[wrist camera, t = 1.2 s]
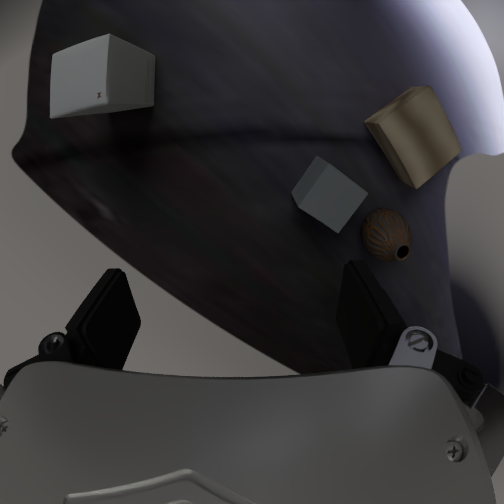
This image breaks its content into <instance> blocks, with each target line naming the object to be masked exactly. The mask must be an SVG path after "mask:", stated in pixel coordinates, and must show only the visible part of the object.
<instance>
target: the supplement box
mask: <svg viewBox="0 0 504 504" xmlns="http://www.w3.org/2000/svg"><path fill="white" fill-rule="evenodd" d="M155 58H156V57H155V56H154V55H152V54H151V53H149V52H147V51H145V50H143V49H141V48H139V47H137V46H135V45H133V44H130V43H128V42H126V41H124V40H122V39H120V38H118V37H115V36H113V35H111V34H107V35H104V36H100V37H97V38H94V39H91V40H88V41H85V42H82V43H80V44H77V45H74V46H72V47H69V48H67V49H64V50H62V51H60V52H57V53H55V54H53V57H52V68H51V86H50V118H61V117H69V116H77V115H87V114H97V113H111V112H118V111H125V110H131V109H137V108H144V107H151V106H154V83H155Z"/></svg>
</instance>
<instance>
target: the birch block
mask: <svg viewBox="0 0 504 504" xmlns="http://www.w3.org/2000/svg"><path fill="white" fill-rule="evenodd" d="M364 123H365V125H366V126H367V128H368V129H369V130H370V132H371V133H372V135H373V137H374V138H375V140H376V141H377V143H378V144H379V146H380V147H381V149H382V151H383V152H384V154H385V155H386V157H387V159H388V160H389V162H390V164H391V166H392V167H393V169H394V171H395V172H396V174H397V176H398V178H399V180H400V181H402V182H404V183H406V184H408V185H409V186H411V187H413V188H415V189H418V188H419V187H420V186H421V185H423V184H424V183H425V182H426V181H427V180H428V179H430V178H431V177H432V176H433V175H434V174H436V173H437V172H438V171H439V170H440V169H441V168H442V167H444V166H445V165H446V164H447V163H448V162H449V161H451V160H452V159H453V158H454V157H455V156H456V155H457V154H458V153H460V152H461V151H462V149H461V147H460V144H459V142H458V139H457V137H456V135H455V133H454V130H453V128H452V126H451V124H450V122H449V120H448V118H447V116H446V114H445V112H444V110H443V108H442V106H441V104H440V102H439V100H438V98H437V97H436V95H435V93H434V91H433V89H432V88H431V86H417V87H411V88H410V89H408V90H407V91H405V92H404V93H403V94H401V95H400V96H398V97H397V98H396V99H394V100H393V101H391V102H390V103H389V104H387V105H386V106H385V107H383V108H382V109H380V110H379V111H378V112H376V113H375V114H374V115H372V116H371V117H370V118H368V119H367V120H366V121H364Z"/></svg>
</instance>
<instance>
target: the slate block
mask: <svg viewBox="0 0 504 504" xmlns="http://www.w3.org/2000/svg"><path fill="white" fill-rule="evenodd" d="M291 193H292V195H293V197H294V200H295V202H296V204H297V206H298V207H299V208H300V209H302V210H304V211H305V212H307V213H308V214H310V215H311V216H313V217H314V218H316V219H317V220H319V221H320V222H322V223H324V224H325V225H327V226H328V227H330V228H331V229H332V230H334V231H335V232H337V233H339V232H340V230H341V229H342V228H343V226H344V225H345V224H346V223H347V221H348V220H349V219H350V217H351V216H352V215H353V213H354V212H355V211H356V209H357V208H358V207H359V205H360V204H361V203H362V201H363V200H364V199H365V197H366V196H367V195H368V193H367V192H366V191H364V190H363V189H362V188H361V187H359V186H358V185H357V184H356V183H354V182H353V181H352V180H350V179H349V178H348V177H347V176H345V175H344V174H343V173H341V172H340V171H339V170H337V169H336V168H335V167H333V166H332V165H331V164H329V163H328V162H326V161H325V160H323V159H322V158H320V157H318V156H316V157H315V159H314V160H313V162H312V163H311V164H310V166H309V167H308V169H307V170H306V172H305V173H304V175H303V176H302V177H301V179H300V180H299V182H298V183H297V185H296V186H295V187H294V189H293V190H292V192H291Z"/></svg>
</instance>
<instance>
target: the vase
mask: <svg viewBox="0 0 504 504" xmlns="http://www.w3.org/2000/svg"><path fill="white" fill-rule="evenodd" d="M361 235H362V240H363V243H364V245H365V247H366V248H367V250H368V251H369V252H370V253H371V254H372V255H373V256H374V257H376V258H377V259H379V260H382V261H385V262H393V261H397V260H398V261H403V260H406V259H407V258H408V257H409V255H410V253H411V243H412V233H411V229H410V226H409V224H408V222H407V221H406V219H405V218H404V217H403V216H402V215H401V214H399V213H398V212H396V211H394V210H392V209H388V208H380V209H376V210H374V211H372V212H371V213H369V214H368V215H367V217H366V218H365V219H364V221H363V224H362V229H361Z"/></svg>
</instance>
